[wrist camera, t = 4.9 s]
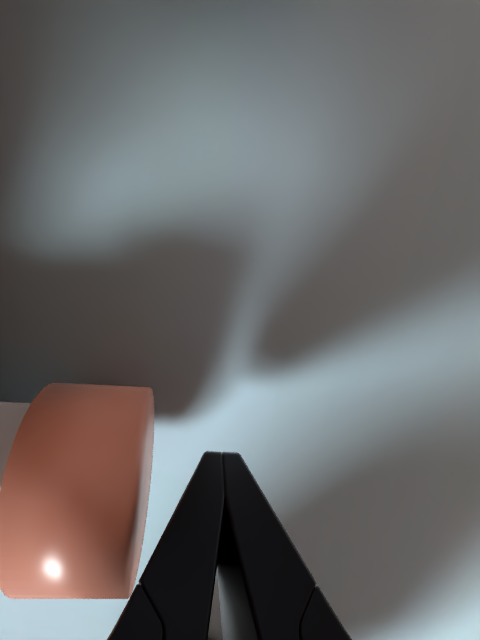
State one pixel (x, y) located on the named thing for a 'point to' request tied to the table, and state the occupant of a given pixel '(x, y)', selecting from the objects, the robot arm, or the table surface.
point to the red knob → (74, 491)
